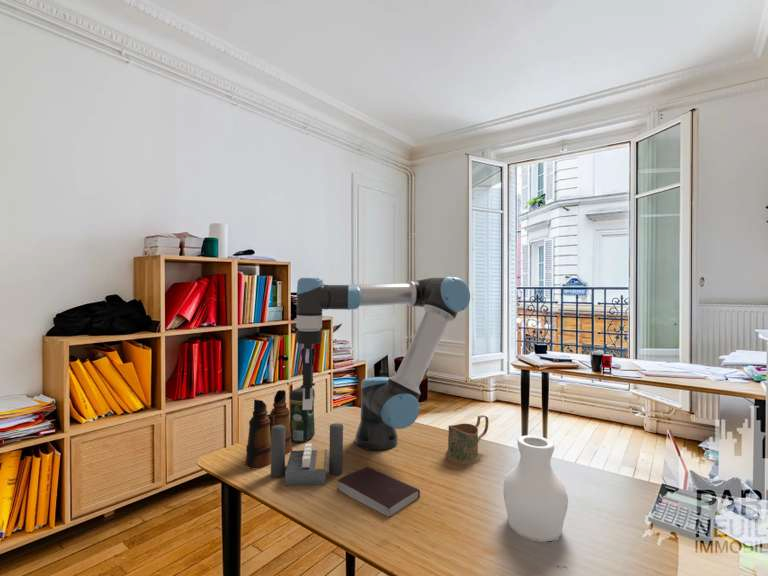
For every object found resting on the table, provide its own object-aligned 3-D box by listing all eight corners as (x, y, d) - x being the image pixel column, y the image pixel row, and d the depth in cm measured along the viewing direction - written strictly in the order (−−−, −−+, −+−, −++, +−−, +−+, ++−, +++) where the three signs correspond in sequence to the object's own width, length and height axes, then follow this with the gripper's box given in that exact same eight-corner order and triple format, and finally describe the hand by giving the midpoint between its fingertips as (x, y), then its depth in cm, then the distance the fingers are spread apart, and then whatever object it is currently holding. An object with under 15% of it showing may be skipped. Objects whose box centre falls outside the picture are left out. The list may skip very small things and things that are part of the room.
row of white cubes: (311, 451, 122) (311, 443, 122) (309, 467, 111) (309, 458, 111) (305, 451, 122) (305, 443, 122) (302, 467, 111) (302, 459, 111)
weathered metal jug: (500, 454, 132) (500, 419, 132) (463, 467, 122) (463, 429, 122) (474, 443, 142) (474, 409, 142) (437, 454, 132) (438, 418, 132)
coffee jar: (298, 432, 150) (299, 383, 150) (317, 434, 148) (318, 385, 148) (285, 441, 141) (286, 389, 141) (305, 444, 138) (305, 391, 138)
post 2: (342, 468, 120) (343, 423, 120) (342, 475, 116) (343, 427, 116) (329, 469, 119) (329, 423, 119) (328, 475, 116) (329, 428, 116)
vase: (582, 539, 88) (583, 450, 88) (527, 550, 84) (529, 457, 84) (539, 505, 101) (540, 427, 101) (490, 513, 97) (492, 432, 97)
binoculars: (260, 470, 118) (261, 404, 118) (239, 465, 121) (240, 400, 121) (297, 448, 135) (297, 390, 135) (277, 444, 138) (278, 387, 138)
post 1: (285, 471, 118) (286, 424, 118) (283, 477, 114) (284, 429, 114) (271, 471, 117) (272, 425, 117) (269, 478, 113) (270, 429, 113)
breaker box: (326, 462, 124) (326, 449, 124) (325, 484, 110) (325, 469, 110) (290, 463, 123) (291, 450, 123) (285, 486, 109) (285, 470, 109)
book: (368, 475, 117) (368, 464, 117) (420, 499, 104) (420, 487, 104) (336, 491, 108) (336, 479, 108) (389, 520, 95) (389, 506, 95)
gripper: (298, 327, 123) (296, 402, 123) (293, 331, 110) (292, 416, 110) (322, 327, 124) (321, 402, 124) (320, 332, 111) (319, 415, 111)
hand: (307, 408), depth 117 cm, fingers closed
